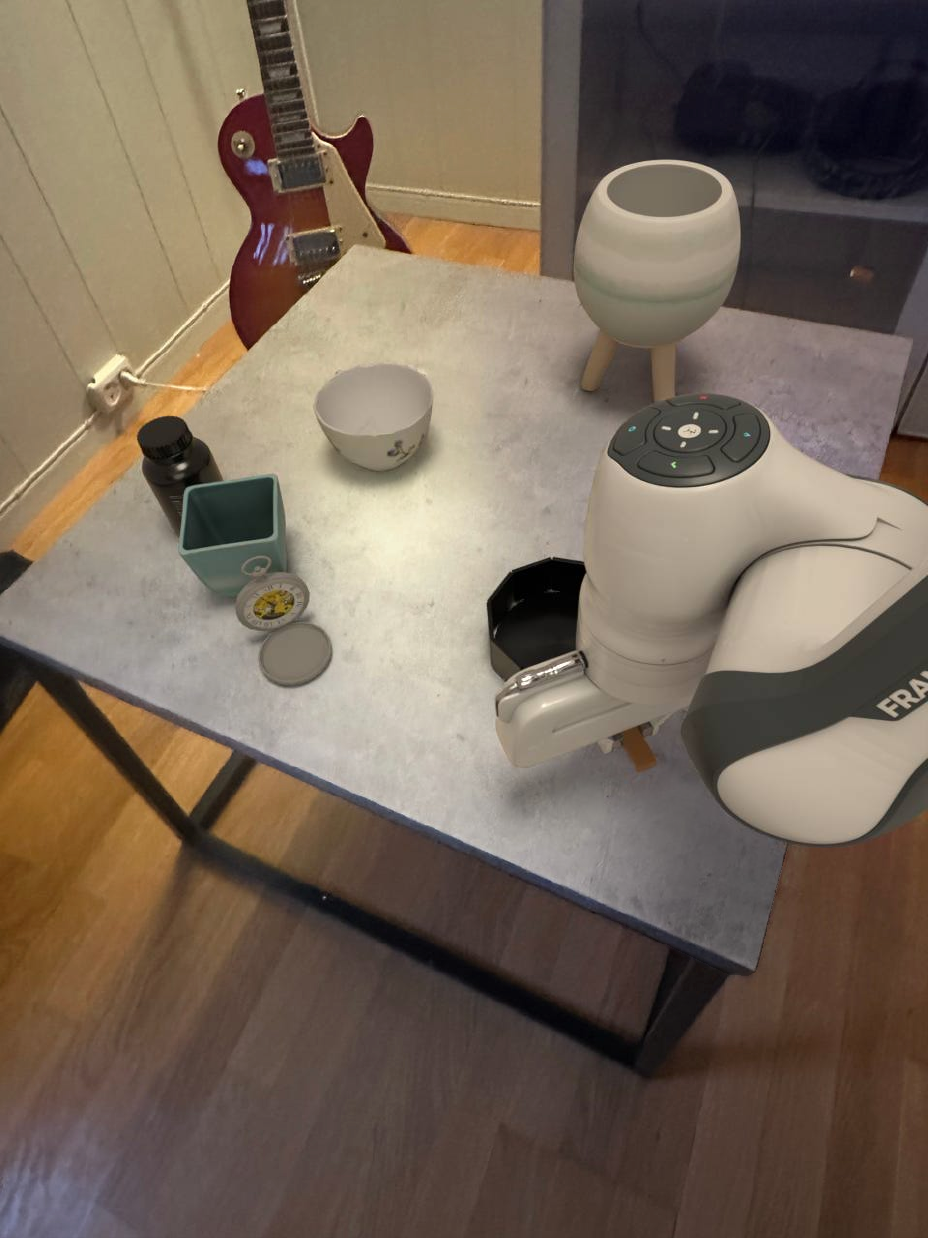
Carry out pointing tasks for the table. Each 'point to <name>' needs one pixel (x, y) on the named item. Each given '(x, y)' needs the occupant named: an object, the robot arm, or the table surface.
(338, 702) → the table surface
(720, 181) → the planter
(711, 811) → the table surface
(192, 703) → the table surface
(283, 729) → the table surface
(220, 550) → the flower pot
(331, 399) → the white floral bowl
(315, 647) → the pocket watch
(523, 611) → the saucepan
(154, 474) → the supplement bottle
